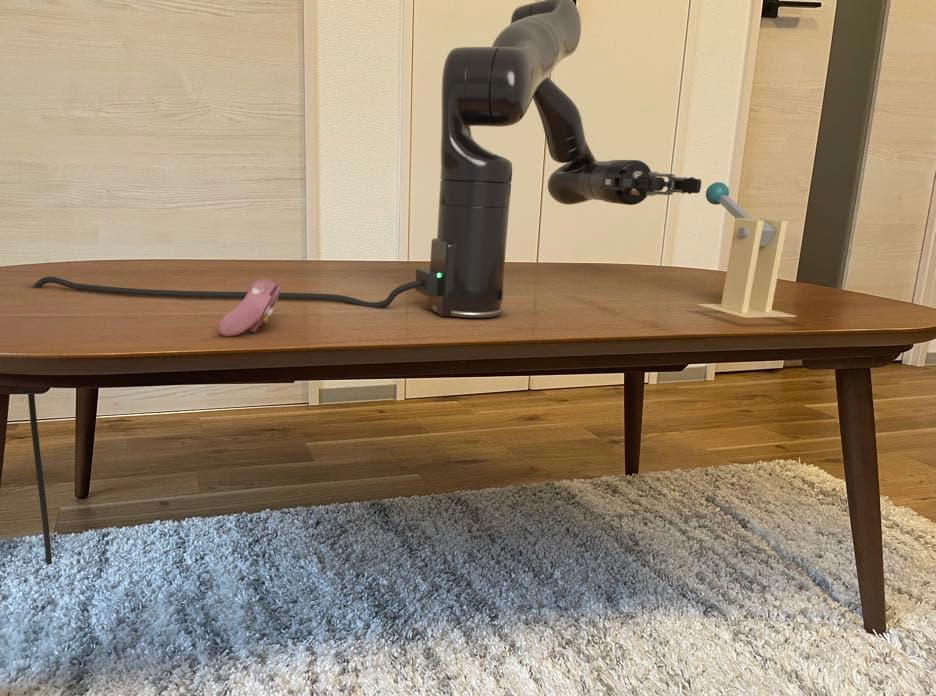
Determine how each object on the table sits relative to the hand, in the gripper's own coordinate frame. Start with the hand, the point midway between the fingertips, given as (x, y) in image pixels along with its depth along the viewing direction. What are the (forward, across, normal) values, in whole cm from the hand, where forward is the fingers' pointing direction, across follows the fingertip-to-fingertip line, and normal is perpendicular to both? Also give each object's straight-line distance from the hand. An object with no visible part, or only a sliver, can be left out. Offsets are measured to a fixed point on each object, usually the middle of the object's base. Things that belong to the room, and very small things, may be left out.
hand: (676, 185), depth 124 cm
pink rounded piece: (+21, -70, +18) cm, 75 cm away
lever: (+14, 0, +5) cm, 15 cm away
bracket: (+20, 0, +18) cm, 26 cm away
